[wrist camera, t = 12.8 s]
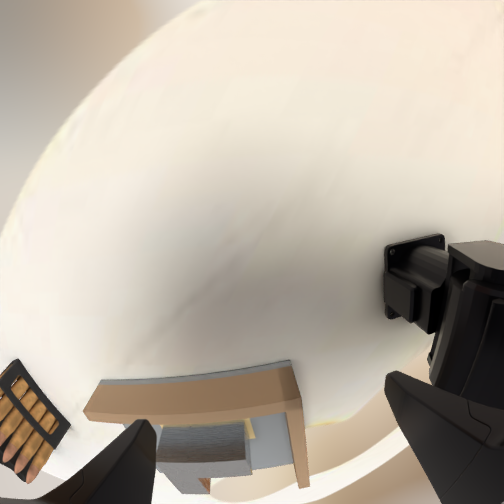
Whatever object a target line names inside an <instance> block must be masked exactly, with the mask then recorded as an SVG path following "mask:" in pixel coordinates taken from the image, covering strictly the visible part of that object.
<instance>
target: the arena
mask: <svg viewBox="0 0 504 504" xmlns="http://www.w3.org/2000/svg"><path fill="white" fill-rule="evenodd" d="M83 412H84V414H85V415H86V417H87V418H88V420H89V421H96V422H106V423H119V424H123V425H124V427H125V428H126V429H127V428H128V427H129V426H130V425H131V424H132V423H133V422H134V421H135V420H136V419H147V420H148V421H149V422H150V424H151V425H152V427H153V428H154V430H155V431H156V434H157V448H156V453H157V449H158V445H159V441H160V437H161V433H162V429H163V425H178V424H199V423H212V422H223V421H232V420H240V419H244V421H245V424H246V427H247V431H248V434H249V437H250V451H251V464H252V470H256V469H263V468H270V467H276V466H282V465H287V464H293V463H294V468H295V472H296V477H297V482H298V487H299V489H301V488H305V487H310V482H309V470H308V459H307V448H306V437H305V427H304V418H303V409H302V400H301V395H300V392H299V389H298V385H297V382H296V379H295V376H294V372H293V369H292V366H291V363H290V360H288V361H283V362H278V363H273V364H268V365H262V366H257V367H251V368H245V369H239V370H232V371H225V372H218V373H210V374H202V375H192V376H182V377H170V378H156V379H134V380H101V381H100V383H99V385H98V386H97V388H96V390H95V391H94V393H93V395H92V396H91V398H90V400H89V401H88V403H87V405H86V406H85V408H84V410H83ZM156 469H157V470H158V471H159V472H160V473H163V472H162V471H161V469H160V468H159V467H158V466H157V465H156Z"/></svg>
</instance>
